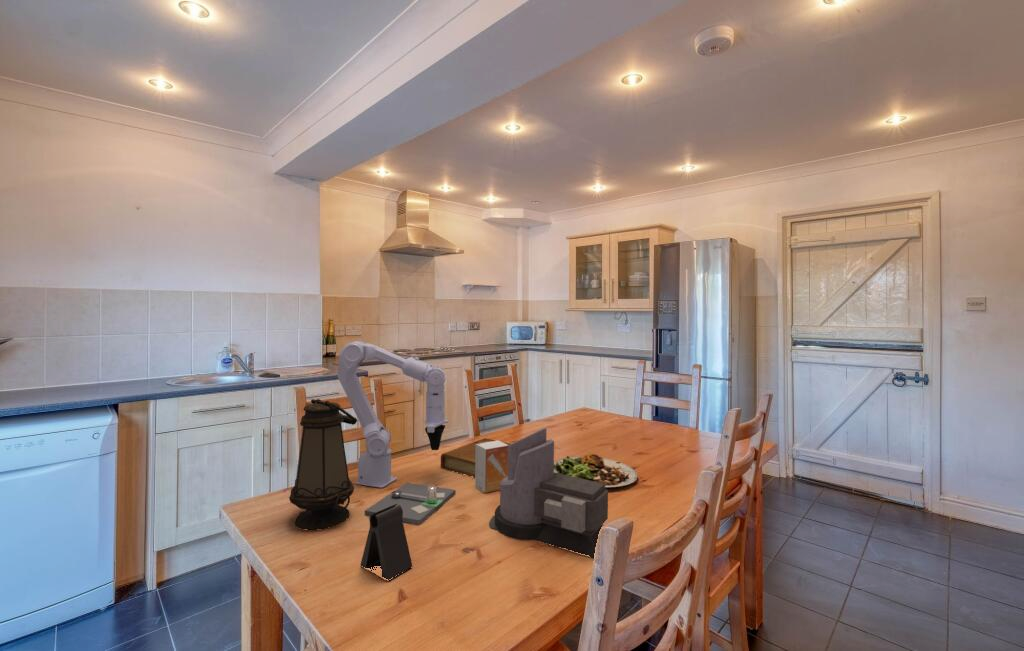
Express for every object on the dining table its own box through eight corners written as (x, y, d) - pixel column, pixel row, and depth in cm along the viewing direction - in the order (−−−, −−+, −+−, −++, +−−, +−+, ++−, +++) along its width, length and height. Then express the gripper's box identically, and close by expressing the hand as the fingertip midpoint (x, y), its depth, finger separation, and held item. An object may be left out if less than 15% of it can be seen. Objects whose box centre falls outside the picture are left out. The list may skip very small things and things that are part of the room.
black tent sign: (360, 566, 90) (360, 508, 90) (384, 553, 95) (384, 498, 95) (388, 582, 85) (388, 521, 84) (412, 568, 90) (412, 510, 89)
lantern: (272, 520, 110) (271, 400, 109) (327, 499, 123) (327, 391, 122) (315, 541, 100) (314, 409, 99) (370, 516, 112) (370, 399, 112)
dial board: (364, 515, 113) (364, 510, 113) (407, 486, 132) (407, 482, 132) (420, 525, 108) (420, 520, 108) (456, 494, 127) (456, 489, 127)
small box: (485, 494, 127) (485, 449, 127) (474, 486, 132) (474, 443, 132) (508, 488, 131) (509, 444, 131) (497, 481, 137) (497, 439, 136)
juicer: (477, 527, 107) (477, 427, 107) (512, 503, 121) (512, 415, 120) (593, 565, 91) (594, 448, 91) (618, 533, 105) (619, 431, 104)
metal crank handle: (389, 497, 121) (389, 482, 121) (395, 493, 123) (395, 479, 123) (434, 504, 116) (434, 489, 116) (439, 500, 119) (439, 485, 118)
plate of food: (537, 484, 135) (538, 464, 134) (562, 457, 160) (562, 440, 160) (631, 502, 124) (632, 481, 124) (641, 470, 150) (642, 452, 150)
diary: (483, 452, 167) (483, 437, 167) (524, 462, 156) (524, 446, 156) (440, 469, 148) (440, 452, 148) (484, 482, 137) (484, 463, 137)
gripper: (444, 411, 130) (443, 457, 130) (451, 401, 144) (451, 442, 145) (420, 411, 130) (420, 456, 130) (430, 401, 145) (430, 442, 145)
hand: (435, 449), depth 138 cm, fingers closed
